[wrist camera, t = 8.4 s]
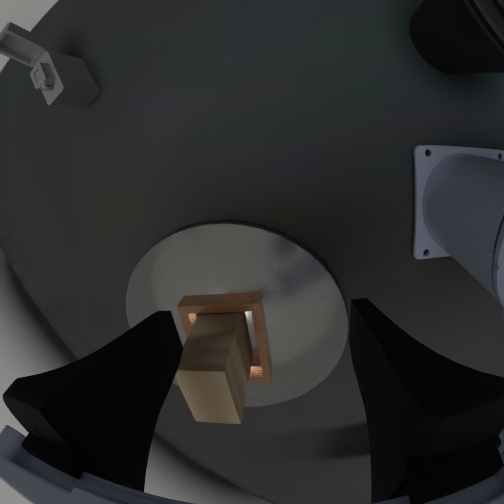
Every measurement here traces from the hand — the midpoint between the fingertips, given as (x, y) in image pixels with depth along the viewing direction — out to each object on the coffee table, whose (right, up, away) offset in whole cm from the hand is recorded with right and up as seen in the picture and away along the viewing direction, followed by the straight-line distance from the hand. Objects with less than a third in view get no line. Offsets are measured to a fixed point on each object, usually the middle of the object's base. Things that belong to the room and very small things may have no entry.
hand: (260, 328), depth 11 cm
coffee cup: (+13, +18, +2) cm, 22 cm away
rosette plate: (-2, -3, +12) cm, 12 cm away
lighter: (-14, +17, +5) cm, 23 cm away
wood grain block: (-2, -3, +11) cm, 11 cm away
